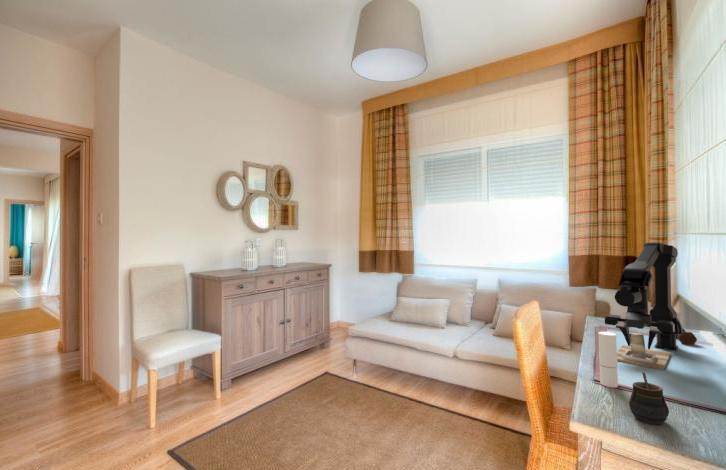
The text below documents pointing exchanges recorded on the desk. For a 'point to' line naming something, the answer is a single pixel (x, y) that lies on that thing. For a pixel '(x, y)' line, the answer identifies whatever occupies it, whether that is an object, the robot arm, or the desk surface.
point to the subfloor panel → (658, 363)
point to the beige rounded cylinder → (637, 345)
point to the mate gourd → (648, 402)
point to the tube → (608, 359)
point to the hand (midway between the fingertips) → (639, 347)
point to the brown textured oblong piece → (686, 338)
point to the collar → (653, 357)
